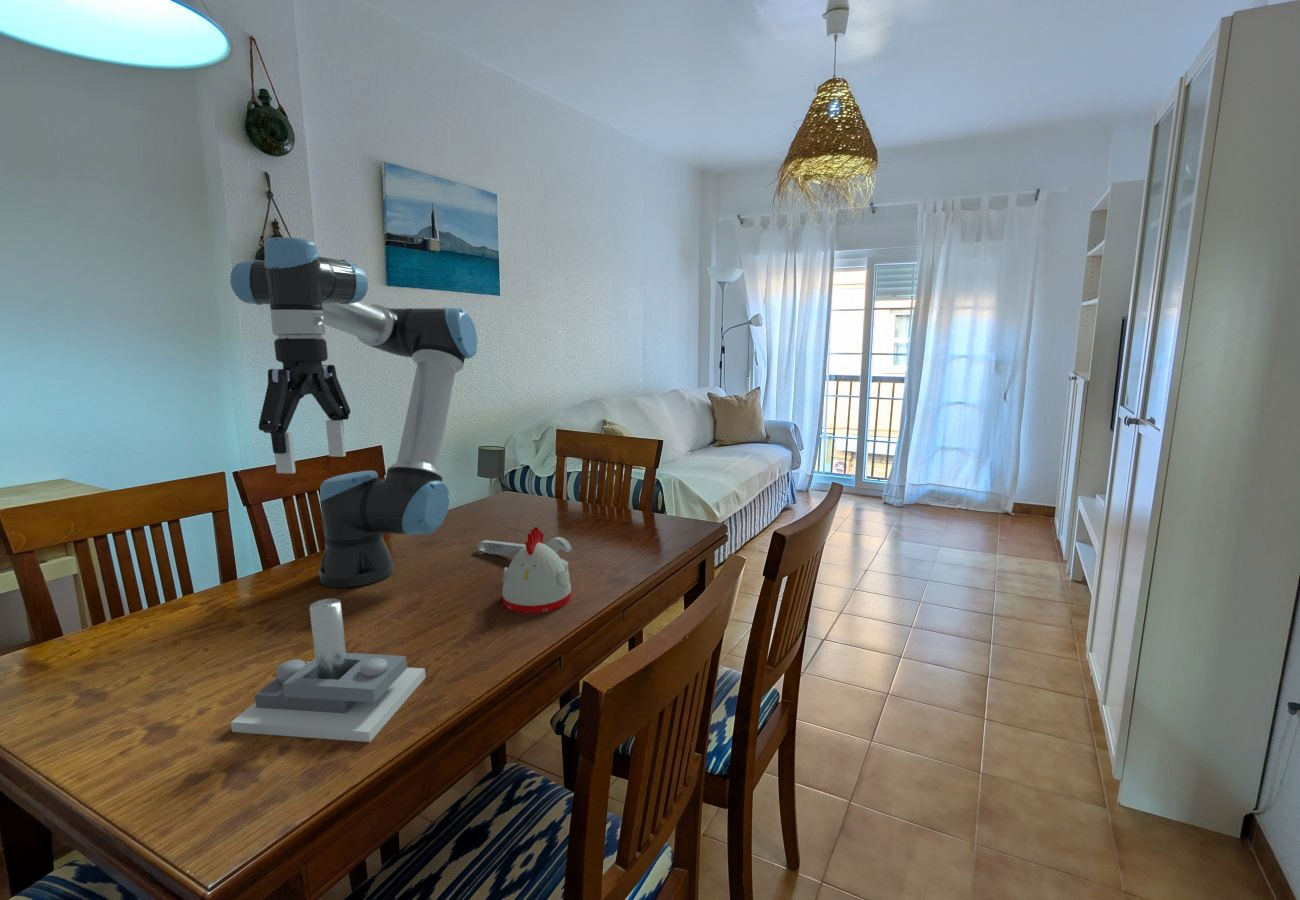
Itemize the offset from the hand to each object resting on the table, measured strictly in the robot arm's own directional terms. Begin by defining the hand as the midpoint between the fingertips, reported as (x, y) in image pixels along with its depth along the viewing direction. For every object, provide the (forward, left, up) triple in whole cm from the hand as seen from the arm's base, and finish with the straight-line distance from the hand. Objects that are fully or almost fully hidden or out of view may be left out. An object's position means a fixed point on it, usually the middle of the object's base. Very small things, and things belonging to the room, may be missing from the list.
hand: (313, 464), depth 106 cm
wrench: (+23, +40, -32) cm, 56 cm away
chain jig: (+13, -19, -32) cm, 39 cm away
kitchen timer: (+32, +20, -32) cm, 49 cm away
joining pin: (+13, -19, -30) cm, 38 cm away
